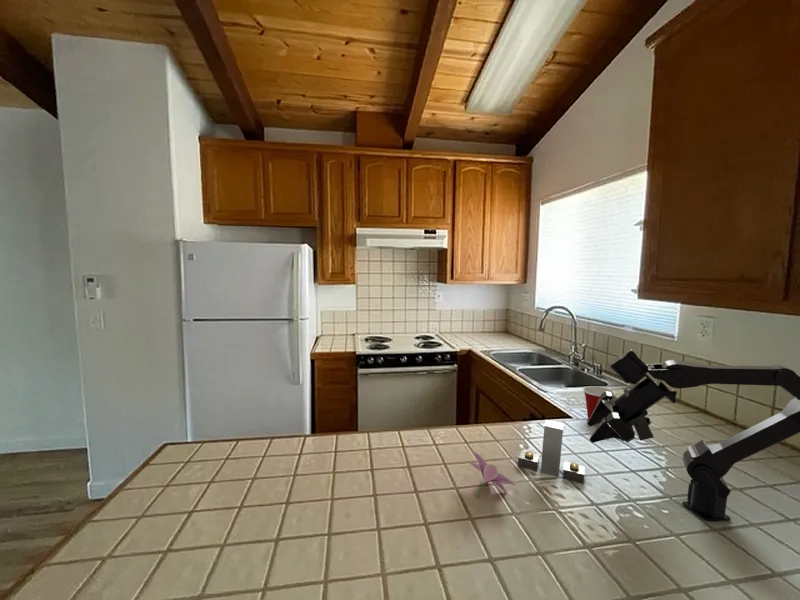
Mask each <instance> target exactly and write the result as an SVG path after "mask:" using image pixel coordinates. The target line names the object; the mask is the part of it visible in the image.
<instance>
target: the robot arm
mask: <svg viewBox="0 0 800 600" xmlns="http://www.w3.org/2000/svg"><path fill="white" fill-rule="evenodd" d="M608 368H610V370H612V371H613V372H614V373H615V374H616V375H617V376H618V377H619V378H620V379H621V380H622V381H623V382H624V383H625V384H629V383H630V384H632V385H634V386H632V387H631V388H629V389H628V388H627V387H626V388H625V389H623V393H622V394H621V395H619V396H618V397H617V396H616V395H614V394H613V393H612V392H609V391H605V392H604V393H603V394H601V395H600V396H601V398H599V401H598V403H597V405H596V407H595V409H594V411H593V413H592V415H591V417H590V419H589V420H587V422H586V423H587V426H589V427H593V426H595V425H597V424H598V426H597V427H596V428H595V430H594V431H593V432H592V435H590V437H589V441H590V442H591V443H592V444H593V443H597V442H600V441H601V442H602V441H605V440H609V439H618V440H620V441H622V442H626V443H630V442H631V441H633V440H634V439H635V434H637V436H638V437H637V438H639V441H641V442H642V441H644V440H650V439H654V435H653V432H652V430H651V428H650V425H651V424H652V421H651V419H650V417H649V415H648V414H649V411H648V410H649V409H650V408H652V407H653V406H655V405H656V404H657V403H659V402H660V401H663V400H664V399H665V398H667V399H668V400H669V401H671V403H673V404H676V403H677V399H676V398H677V394H678V391H677V390H676V389H689V388H696V387H701V386H706V385H713V384H714V385H740V386H745V385H746V386H775V387H776V386H777V387H780V388H782V389H783V390H784V391H786V392H787V393H789V394H790V395H792V396H793V398H792V399H790V401H789V402H788V403H787V404H786V405H785V406H784V408H783V409H782V410H781V411H780V412H778V413H776V414H774V415H772V416H770V417H768V418H766V419H764V420H763V421H761V422H758V423H756V424H754V425H752V426H751V427H749V428H746V429H745V430H742V431H740V432H738V433H737V434H734V435H732V436H730V437H727V439H725V440H723V441H720V442H718V443H712V444H707V443H706V441H705V440H704V439H701V440H700V441H697V443H695V444H693V445H692V446H691V445H689V446H686V449H687V450H685V451H684V452H683V455H682V462H683V465H684V467H685V470H686V472H687V475H688V476H689V477H690V478H691V479H690V481H689V484H688V490H687V498H686V500H685V501H683V500H682V502H681V504H682V505H683V506H685V507H686V508H687V509H689V510H690V511H692V512H693V513H694V514H696V515H697V516H698V517H700V518H702V519H703V520H704V521H707V522H716V521H717V522H718V521H731V517H730V516H729V515H728V514H726V511H727V503H728V502H727V501H728V497H729V495H730V494H731V489H730V488H729V486H728V484H727V482H726V481H725V479H724V477H725V476H726V475H727V474H728V472H730V470H731V469H732V468H733V466H734V465H735V464H736V463H738V462H741V461H743V460H745V459H747V458H749V457H751V456H753V455H755V454H757V453H759V452H762V451H763V450H766V449H768V448H771V447H772V446H775V445H777V444H779V443H780V442H781V443H782V442H783V441H785V440H788V439H789V438H792V437H793V436H796V435H798V434H800V376H799V375H798V374H797V372H795V371H794V370H792V369H791V368H789V367H787V366H784V365H779V364H775V365H709V364H708V365H707V364H701V363H696V362H691V361H685V360H678V359H668V360H665V361H664V362H663V363H648V364H647V363H645V361H643V359H641V358H640V357H639V356H638V355H637V353H636V352H635V351H634V350H633V349H629V350H628V351H626V352H624V353H622V354H621V355H618V356H617V357H615V358H614V359H613V360H612V361H611V362H609V364H608ZM666 384H667V385H668V386H669V387H670V388H669V387H668V386H667V385H666ZM671 388H673V389H671ZM599 422H601V423H599ZM633 426H634V427H633ZM634 429H635V430H634ZM635 431H636V432H635Z"/></svg>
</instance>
